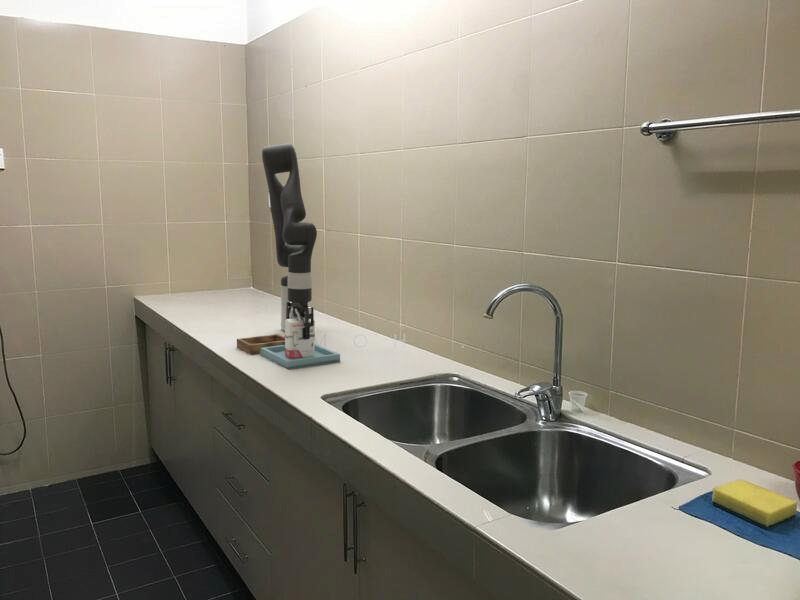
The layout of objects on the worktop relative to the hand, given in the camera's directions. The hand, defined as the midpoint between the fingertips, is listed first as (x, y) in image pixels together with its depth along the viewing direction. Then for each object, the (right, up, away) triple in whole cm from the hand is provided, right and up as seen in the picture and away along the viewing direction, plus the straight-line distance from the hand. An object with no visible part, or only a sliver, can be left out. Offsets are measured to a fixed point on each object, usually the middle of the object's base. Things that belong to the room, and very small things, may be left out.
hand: (299, 336), depth 210 cm
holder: (-14, -5, +13) cm, 20 cm away
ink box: (0, -6, +1) cm, 7 cm away
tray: (0, -7, +1) cm, 7 cm away
